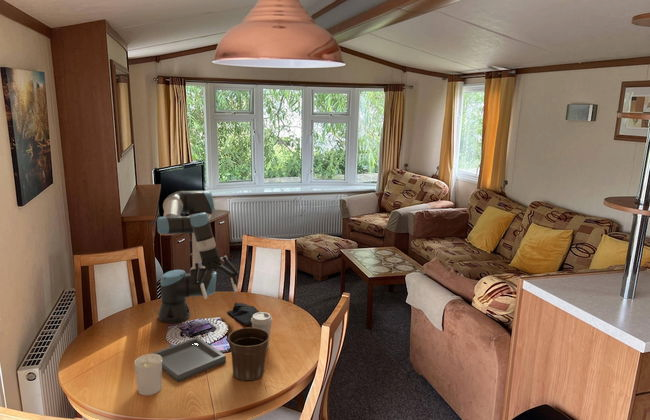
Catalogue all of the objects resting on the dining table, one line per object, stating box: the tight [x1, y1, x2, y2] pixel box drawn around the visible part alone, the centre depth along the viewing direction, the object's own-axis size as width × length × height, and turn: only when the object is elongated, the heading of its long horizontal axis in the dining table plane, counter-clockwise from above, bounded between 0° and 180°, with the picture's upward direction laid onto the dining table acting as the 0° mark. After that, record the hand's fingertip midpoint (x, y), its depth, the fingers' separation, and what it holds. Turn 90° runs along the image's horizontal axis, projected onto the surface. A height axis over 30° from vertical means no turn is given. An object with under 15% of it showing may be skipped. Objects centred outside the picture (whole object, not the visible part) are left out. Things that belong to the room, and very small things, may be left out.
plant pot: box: [227, 327, 270, 381], centre depth 192 cm, size 16×16×16 cm
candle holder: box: [133, 353, 163, 397], centre depth 179 cm, size 10×10×12 cm
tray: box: [150, 336, 227, 383], centre depth 200 cm, size 22×22×3 cm
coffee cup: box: [251, 311, 274, 350], centre depth 213 cm, size 10×10×15 cm
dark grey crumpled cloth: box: [226, 302, 260, 326], centre depth 244 cm, size 15×22×5 cm
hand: (220, 294), depth 209 cm, fingers open, 13 cm apart
